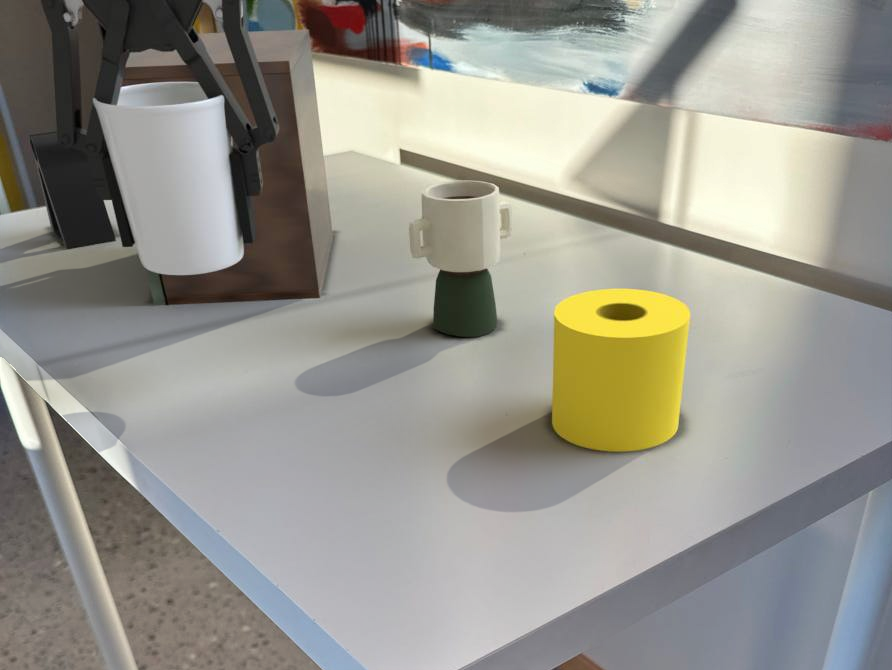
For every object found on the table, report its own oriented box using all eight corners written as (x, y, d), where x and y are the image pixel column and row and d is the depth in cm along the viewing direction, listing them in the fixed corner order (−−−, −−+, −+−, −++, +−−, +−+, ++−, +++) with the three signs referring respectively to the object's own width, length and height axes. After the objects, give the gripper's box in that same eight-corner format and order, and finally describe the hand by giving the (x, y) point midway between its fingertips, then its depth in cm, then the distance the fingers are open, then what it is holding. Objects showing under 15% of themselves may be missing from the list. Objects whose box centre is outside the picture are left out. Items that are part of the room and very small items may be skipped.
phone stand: (116, 241, 121) (89, 135, 113) (67, 250, 119) (36, 142, 111) (99, 224, 127) (73, 122, 120) (52, 232, 125) (22, 129, 117)
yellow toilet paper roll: (526, 430, 78) (526, 314, 72) (606, 390, 83) (612, 279, 77) (623, 471, 72) (632, 349, 66) (702, 426, 78) (717, 309, 72)
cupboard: (168, 306, 102) (113, 67, 88) (203, 243, 119) (161, 34, 106) (320, 299, 103) (289, 60, 89) (333, 237, 120) (308, 29, 106)
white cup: (126, 249, 82) (88, 87, 74) (242, 235, 84) (217, 77, 77) (137, 286, 74) (96, 111, 67) (264, 269, 77) (238, 99, 70)
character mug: (491, 309, 99) (488, 172, 91) (532, 330, 94) (533, 187, 86) (399, 333, 95) (387, 191, 86) (437, 356, 90) (428, 208, 82)
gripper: (-65, -108, 61) (42, 258, 75) (280, -114, 62) (321, 250, 76) (-24, -111, 67) (68, 230, 81) (291, -117, 68) (327, 222, 82)
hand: (190, 239), depth 78 cm, fingers closed on white cup, 9 cm apart
